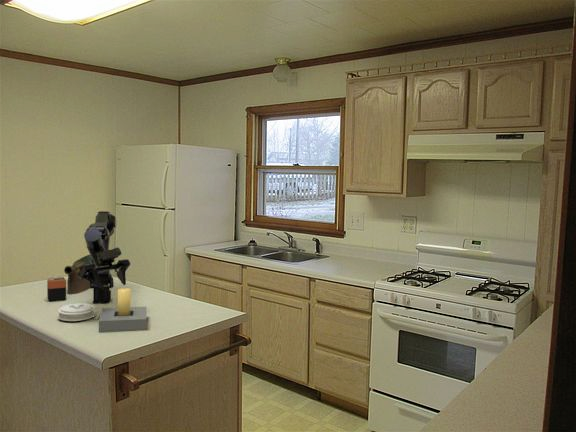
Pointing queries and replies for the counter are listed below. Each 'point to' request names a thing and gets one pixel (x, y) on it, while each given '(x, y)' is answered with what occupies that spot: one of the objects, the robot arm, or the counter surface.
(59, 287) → the battery
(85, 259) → the squash
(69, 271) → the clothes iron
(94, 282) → the robot arm
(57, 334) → the counter surface
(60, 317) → the lid
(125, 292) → the plug
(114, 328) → the socket block
